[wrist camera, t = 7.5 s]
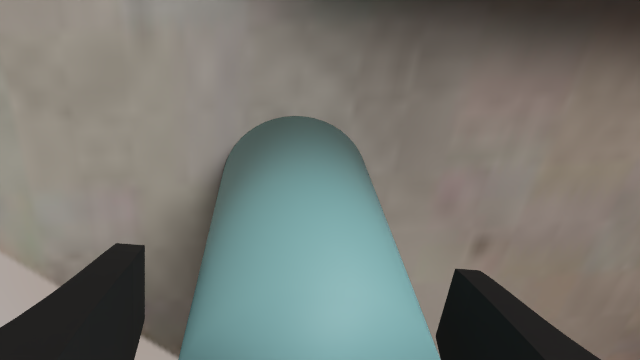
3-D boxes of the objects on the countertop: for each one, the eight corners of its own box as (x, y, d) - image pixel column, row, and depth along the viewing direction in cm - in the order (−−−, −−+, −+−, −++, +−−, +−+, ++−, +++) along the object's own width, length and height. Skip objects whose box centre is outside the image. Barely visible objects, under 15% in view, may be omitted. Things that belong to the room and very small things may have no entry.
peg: (378, 124, 17) (475, 301, 8) (354, 251, 19) (413, 495, 10) (227, 108, 16) (175, 280, 8) (218, 240, 18) (168, 490, 10)
